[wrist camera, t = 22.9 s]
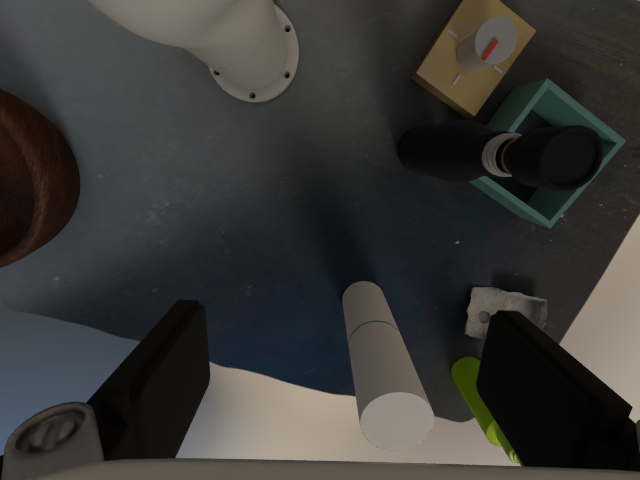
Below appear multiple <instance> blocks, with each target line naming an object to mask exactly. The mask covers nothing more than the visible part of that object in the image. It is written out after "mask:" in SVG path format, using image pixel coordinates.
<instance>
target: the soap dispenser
mask: <svg viewBox="0 0 640 480" xmlns="http://www.w3.org/2000/svg"><path fill="white" fill-rule="evenodd" d="M479 366H480V360H478V359H477V358H474V357H464V358H461V359H459V360H458V361H456V362H455V363H454V365H453V366H452V369H451V375H452V377H453V379H454V381H455V383H456V384H457V386H458V388H459V390H460V391H461V393H462V395H463V397H464V398H465V400H466V402H467V404H468V405H469V407H470V409H471V411H472V413H473V414H474V416H475V418H476V420H477V421H478V423H479V425H480V427H481V428H482V430H483V432H484V434H485V435H486V437H487V439H488V440H489V442H490V443H492V444H494V445H496V446H500V447H503V449H504V450H505V452H506V454H507V455H508V457H509V459H510V460H511V461H513V462H515V463H520V465H521V466H522V467H524V466H523V464H522V462H521V461H520V459H519V458H518V456H517V454H516V453H515V451H514V450H513V448H512V447H511V445H510V443H509V442H508V440H507V439H506V437H505V436H504V434H503V432H502V431H501V429H500V428H499V426H498V424H497V423H496V421H495V420H494V418H493V417H492V415H491V413H490V412H489V410H488V409H487V407H486V405H485V404H484V402H483V401H482V399H481V398H480V396H479V394H478V392H477V388H476V380H477V376H478V371H479Z"/></svg>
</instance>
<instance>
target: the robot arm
mask: <svg viewBox="0 0 640 480" xmlns="http://www.w3.org/2000/svg"><path fill="white" fill-rule="evenodd" d="M88 1H89V2H90V3H91V4H92V5H93V6H95V7H96V8H97V9H98V10H99V11H101V12H102V13H103V14H104V15H106V16H107V17H108V18H110V19H111V20H113V21H114V22H116V23H117V24H119V25H120V26H122V27H124V28H125V29H127V30H129V31H131V32H133V33H135V34H137V35H139V36H141V37H144V38H146V39H148V40H151V41H154V42H157V43H161V44H165V45H170V46H175V47H181V48H184V49H185V50H187V51H188V52H190V53H191V54H193V55H194V56H195V57H197V58H198V59H200V60H201V61H203V62H204V63H205V64H207V65H208V67H209V70H210V72H211V74H212V76H213V77H214V79H215V81H216V82H217V83H218V84H219V85H220V86H221V88H222V89H223V90H225V91H226V92H227V93H229V94H230V95H232V96H233V97H235V98H237V99H240V100H242V101H246V102H252V103H256V102H264V101H269V100H271V99H273V98H275V97H277V96H278V95H280V94H281V93H282V92H283V91H284V90H285V89H286V88H287V87H288V86H289V85H290V83H291V81H292V80H293V78H294V75H295V73H296V70H297V66H298V61H299V47H298V40H297V37H296V33H295V30H294V28H293V25H292V23H291V22H290V20H289V19H288V17H287V16H286V14H285V13H284V12H283V11H282V10H281V9H280V8H279V7H278V6H276V5H275V4H273V1H272V0H88ZM287 29H289V30H290V31H289V32H286V30H287ZM217 72H218V73H220V74H219V75H217ZM287 74H288V75H289V78H286V75H287ZM252 95H255V98H252ZM209 380H210V366H209V353H208V340H207V327H206V313H205V307H204V305H200V303H199V301H198V300H178V301H177V302H176V303H175V304H174V305H173V307H172V308H171V309H170V310H169V311H168V312H167V313H166V314H165V316H164V317H163V318H162V319H161V320H160V321H159V322H158V323H157V324H156V326H155V327H154V328H153V329H152V330H151V331H150V332H149V333H148V334H147V336H146V337H145V338H144V339H143V340H142V341H141V342H140V344H138V345H137V347H136V348H135V349H134V350H133V351H132V352H131V353H130V355H129V356H128V357H127V358H126V359H125V360H124V361H123V362H122V363H121V364H120V366H119V367H118V368H117V369H116V370H115V371H114V372H113V373H112V374H111V376H110V377H109V378H108V379H107V380H106V381H105V382H104V383H103V384H102V386H101V387H100V388H99V389H98V390H97V391H96V392H95V394H94V395H93V396H92V397H91V398H90V399H89V400H88V401H87V403H84V402H68V403H62V404H59V405H56V406H52V407H50V408H47V409H45V410H43V411H41V412H39V413H37V414H35V415H34V416H32V417H31V418H29V419H27V420H26V421H25V422H23V423H22V424H21V425H20V426H19V427H18V428H16V429H15V431H14V432H13V433H12V434H11V436H10V437H9V438H8V440H7V443H6V445H5V449H4V455H2V456H0V480H640V420H638V421H637V423H634V422H633V421H632V420H631V419H630V418H629V415H630V412H631V410H632V406H631V405H630V404H628V403H627V402H626V401H625V400H624V399H622V398H621V397H620V396H619V395H618V394H617V393H615V392H614V391H613V390H612V389H611V388H609V387H608V386H607V385H606V384H605V383H604V382H602V381H601V380H600V379H599V378H598V377H596V376H595V375H594V374H593V373H592V372H590V371H589V370H588V369H587V368H586V367H585V366H583V365H582V364H581V363H580V362H579V361H577V360H576V359H575V358H574V357H573V356H572V355H570V354H569V353H568V352H567V351H566V350H564V349H563V348H562V347H561V346H560V345H558V344H557V343H556V342H555V341H554V340H553V339H551V338H550V337H549V336H548V335H547V334H545V333H544V332H543V331H542V330H541V329H540V328H538V327H537V326H536V325H535V324H534V323H532V322H531V321H530V320H529V319H528V318H526V317H525V316H524V315H523V314H522V313H521V312H519V311H513V310H498V311H497V312H496V313H495V314H493V315H492V316H491V317H490V321H489V325H488V330H487V334H486V339H485V344H484V348H483V353H482V357H481V362H480V366H479V371H478V376H477V380H476V388H477V392H478V394H479V396H480V398H481V399H482V401H483V402H484V404H485V405H486V407H487V409H488V410H489V412H490V413H491V415H492V417H493V418H494V420H495V421H496V423H497V424H498V426H499V428H500V429H501V431H502V432H503V434H504V436H505V437H506V439H507V440H508V442H509V443H510V445H511V447H512V448H513V450H514V451H515V453H516V454H517V456H518V458H519V459H520V461H521V462H522V464H523V466H524V467H522V466H491V465H461V464H426V463H389V462H350V461H306V460H303V461H302V460H254V459H253V460H252V459H199V458H198V459H197V458H194V459H193V458H192V459H191V458H175V457H176V455H177V453H178V450H179V449H180V446H181V444H182V442H183V440H184V437H185V435H186V433H187V431H188V429H189V427H190V424H191V422H192V420H193V418H194V416H195V413H196V411H197V409H198V407H199V405H200V403H201V400H202V398H203V396H204V394H205V391H206V390H207V387H208V385H209Z"/></svg>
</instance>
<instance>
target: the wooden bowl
mask: <svg viewBox="0 0 640 480" xmlns="http://www.w3.org/2000/svg"><path fill="white" fill-rule="evenodd" d="M79 193H80V177H79V171H78V167H77V163H76V161H75V158H74V155H73V153H72V151H71V149H70V147H69V146H68V144H67V142H66V141H65V139H64V138H63V136H62V135H61V134H60V133H59V131H58V130H57V129H56V128H55V127H54V126H53V125H52V124H51V122H50V121H48V120H47V119H46V118H45V117H44V116H43V115H42V114H41V113H39V112H38V111H37V110H35V109H34V108H33V107H31V106H30V105H29V104H27V103H26V102H24V101H22V100H21V99H19V98H17V97H16V96H14V95H12V94H10V93H8V92H6V91H4V90H2V89H0V268H1V267H4V266H7V265H9V264H11V263H13V262H15V261H17V260H20V259H22V258H23V257H25V256H27V255H29V254H30V253H32V252H34V251H35V250H37V249H39V248H40V247H42V246H43V245H45V244H46V243H48V242H49V241H50V240H52V239H53V238H54V237H55V236H56V235H57V234H58V233H59V232H60V231H61V230H62V229H63V228H64V227H65V226H66V224H67V223H68V222H69V220H70V219H71V217H72V215H73V213H74V211H75V209H76V206H77V203H78V199H79Z"/></svg>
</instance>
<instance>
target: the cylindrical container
mask: <svg viewBox="0 0 640 480" xmlns="http://www.w3.org/2000/svg"><path fill="white" fill-rule="evenodd" d="M342 303H343V310H344V317H345V324H346V331H347V338H348V345H349V352H350V359H351V366H352V372H353V379H354V386H355V393H356V400H357V407H358V414H359V421H360V427H361V431H362V434H363V436H364V437H365V438H366V440H368V441H369V442H370V443H371V444H373V445H375V446H376V447H379V448H381V449H386V450H404V449H408V448H411V447H413V446H415V445H417V444H419V443H420V442H422V441H423V440H424V439H425V438H426V437H427V436H428V435H429V433H430V432H431V430H432V427H433V424H434V414H433V411H432V408H431V406H430V404H429V401H428V399H427V396H426V394H425V392H424V389H423V387H422V385H421V382H420V380H419V378H418V375H417V373H416V370H415V368H414V366H413V363H412V361H411V359H410V356H409V354H408V351H407V349H406V347H405V344H404V342H403V340H402V337H401V335H400V333H399V330H398V328H397V325H396V323H395V321H394V318H393V316H392V314H391V311H390V309H389V306H388V304H387V302H386V299H385V297H384V295H383V292H382V291H381V289H380V288H379V287H378V286H377V285H376V284H374V283H372V282H368V281H359V282H356V283H354V284H352V285H350V286H349V287H348V288H347V289H346V290H345V292H344V294H343V298H342Z"/></svg>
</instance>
